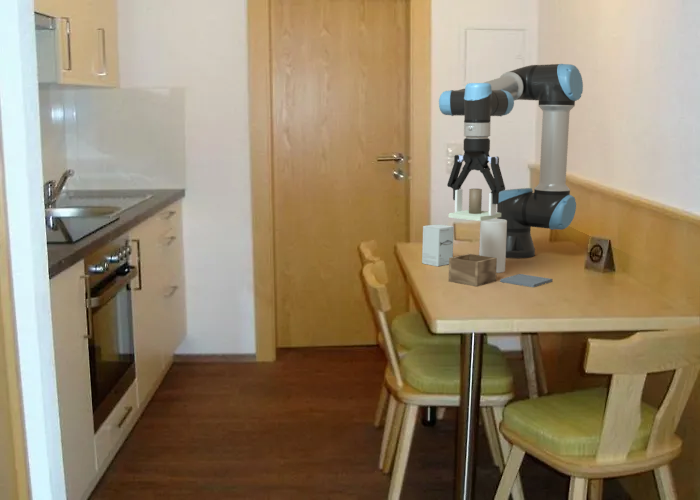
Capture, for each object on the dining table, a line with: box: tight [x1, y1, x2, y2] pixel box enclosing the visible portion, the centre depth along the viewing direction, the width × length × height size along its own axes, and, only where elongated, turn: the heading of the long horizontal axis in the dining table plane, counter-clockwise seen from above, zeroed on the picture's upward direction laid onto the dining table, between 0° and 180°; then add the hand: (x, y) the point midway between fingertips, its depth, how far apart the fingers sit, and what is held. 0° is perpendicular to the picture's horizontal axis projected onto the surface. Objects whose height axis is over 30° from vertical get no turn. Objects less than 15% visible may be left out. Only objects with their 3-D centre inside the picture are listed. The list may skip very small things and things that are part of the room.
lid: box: [448, 188, 501, 222], centre depth 242 cm, size 11×11×8 cm
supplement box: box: [421, 224, 455, 267], centre depth 272 cm, size 7×7×13 cm
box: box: [448, 253, 497, 287], centre depth 245 cm, size 10×10×7 cm
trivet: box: [499, 273, 553, 288], centre depth 245 cm, size 11×11×1 cm
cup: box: [478, 218, 507, 274], centre depth 261 cm, size 8×8×16 cm
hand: (475, 213), depth 242 cm, fingers closed on lid, 11 cm apart
